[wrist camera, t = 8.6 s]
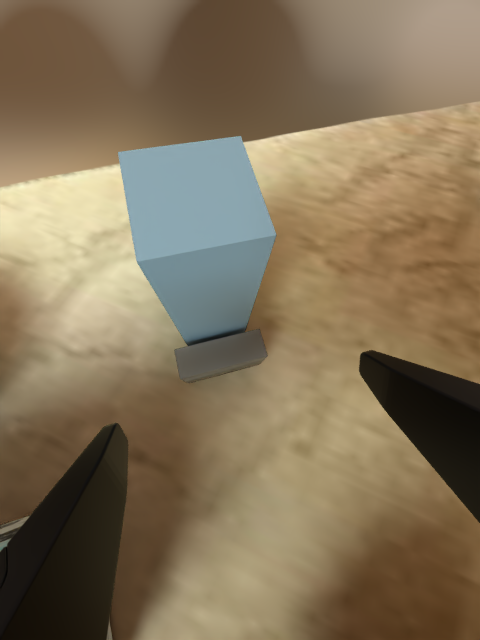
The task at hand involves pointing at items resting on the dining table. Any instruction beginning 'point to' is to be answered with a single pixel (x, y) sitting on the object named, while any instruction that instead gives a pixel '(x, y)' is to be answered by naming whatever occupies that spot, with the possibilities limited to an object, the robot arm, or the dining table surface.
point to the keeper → (199, 232)
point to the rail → (220, 356)
